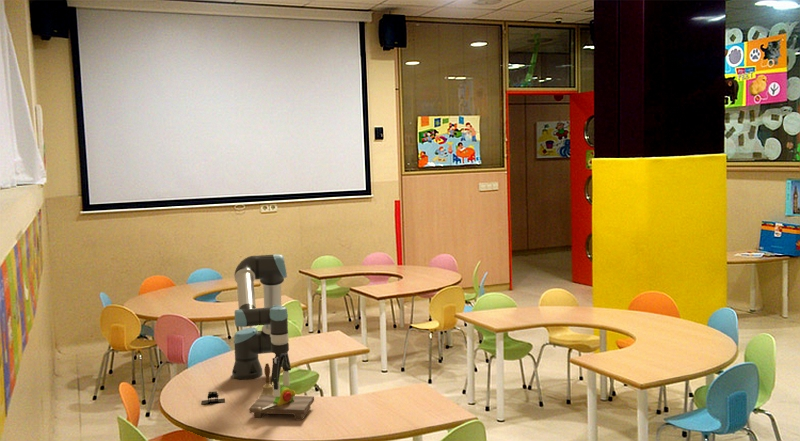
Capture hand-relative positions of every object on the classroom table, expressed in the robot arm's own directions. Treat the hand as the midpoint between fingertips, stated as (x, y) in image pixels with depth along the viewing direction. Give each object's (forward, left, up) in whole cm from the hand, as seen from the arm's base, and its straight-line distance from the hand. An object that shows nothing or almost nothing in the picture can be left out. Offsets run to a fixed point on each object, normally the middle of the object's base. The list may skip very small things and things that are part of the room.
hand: (281, 390), depth 309 cm
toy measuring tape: (+3, -1, -5) cm, 6 cm away
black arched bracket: (-11, -36, -11) cm, 40 cm away
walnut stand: (0, 0, -10) cm, 10 cm away
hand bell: (-19, -13, -10) cm, 25 cm away
